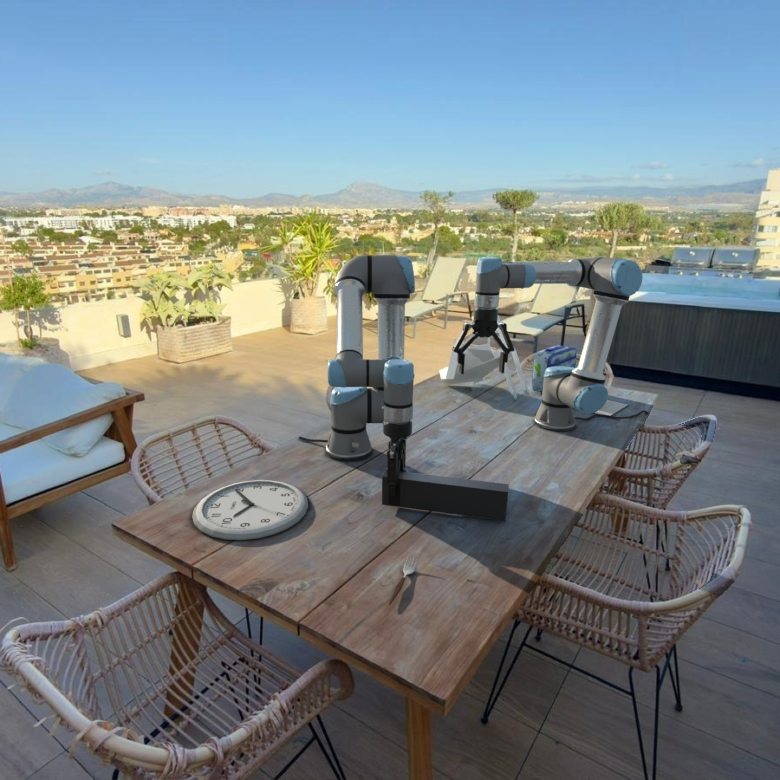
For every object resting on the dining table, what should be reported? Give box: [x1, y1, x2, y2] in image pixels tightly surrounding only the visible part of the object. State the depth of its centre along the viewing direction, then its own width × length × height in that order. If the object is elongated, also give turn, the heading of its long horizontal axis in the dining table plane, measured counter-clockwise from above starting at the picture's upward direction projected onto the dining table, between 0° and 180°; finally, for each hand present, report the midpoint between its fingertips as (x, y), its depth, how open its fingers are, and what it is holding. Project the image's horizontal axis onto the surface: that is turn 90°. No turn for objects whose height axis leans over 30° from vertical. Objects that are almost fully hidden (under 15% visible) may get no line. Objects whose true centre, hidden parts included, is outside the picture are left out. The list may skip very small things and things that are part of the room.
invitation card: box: [594, 399, 629, 416], centre depth 226 cm, size 21×1×15 cm
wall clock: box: [191, 479, 309, 541], centre depth 140 cm, size 30×2×30 cm
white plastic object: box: [438, 315, 531, 400], centre depth 245 cm, size 37×45×31 cm
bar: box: [381, 469, 510, 522], centre depth 138 cm, size 33×4×8 cm, turn 77°
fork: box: [388, 554, 419, 606], centre depth 112 cm, size 3×16×2 cm, turn 160°
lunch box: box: [531, 345, 577, 393], centre depth 245 cm, size 26×11×21 cm, turn 134°
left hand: (395, 499), depth 142 cm, fingers closed on bar, 4 cm apart
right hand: (481, 372), depth 172 cm, fingers open, 13 cm apart
